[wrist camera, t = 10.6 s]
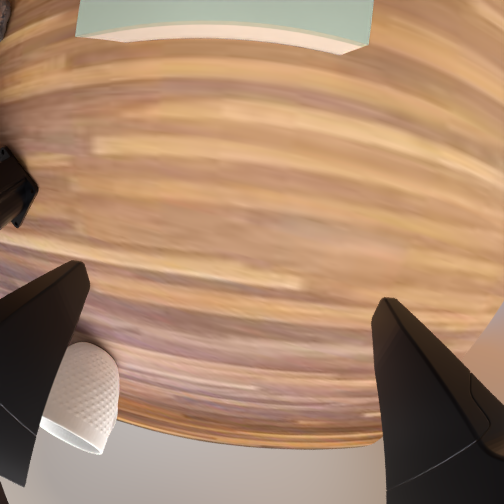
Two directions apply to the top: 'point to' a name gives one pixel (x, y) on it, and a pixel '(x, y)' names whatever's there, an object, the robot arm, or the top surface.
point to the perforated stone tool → (4, 16)
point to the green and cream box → (232, 21)
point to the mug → (83, 398)
